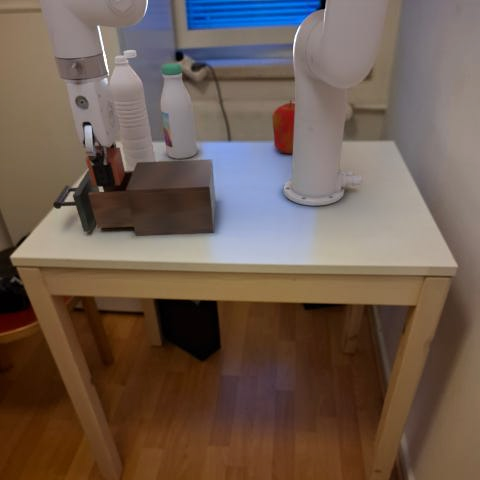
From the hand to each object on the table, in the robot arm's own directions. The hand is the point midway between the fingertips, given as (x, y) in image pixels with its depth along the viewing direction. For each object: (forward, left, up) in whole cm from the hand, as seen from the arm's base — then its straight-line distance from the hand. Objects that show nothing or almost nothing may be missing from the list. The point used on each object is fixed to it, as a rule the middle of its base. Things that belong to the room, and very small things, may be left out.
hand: (109, 177), depth 80 cm
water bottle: (-2, -19, -9) cm, 21 cm away
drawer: (+1, 0, -8) cm, 8 cm away
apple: (-36, -33, -9) cm, 50 cm away
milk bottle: (-9, -34, -9) cm, 36 cm away
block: (0, 0, 0) cm, 0 cm away
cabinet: (-11, 0, -9) cm, 14 cm away
